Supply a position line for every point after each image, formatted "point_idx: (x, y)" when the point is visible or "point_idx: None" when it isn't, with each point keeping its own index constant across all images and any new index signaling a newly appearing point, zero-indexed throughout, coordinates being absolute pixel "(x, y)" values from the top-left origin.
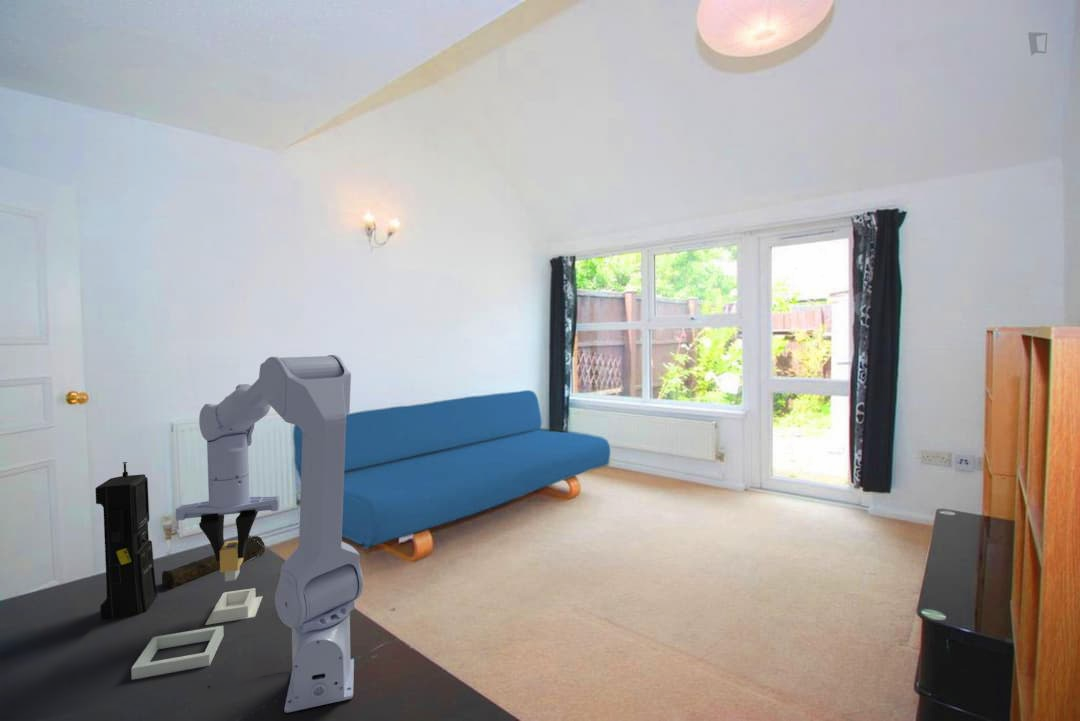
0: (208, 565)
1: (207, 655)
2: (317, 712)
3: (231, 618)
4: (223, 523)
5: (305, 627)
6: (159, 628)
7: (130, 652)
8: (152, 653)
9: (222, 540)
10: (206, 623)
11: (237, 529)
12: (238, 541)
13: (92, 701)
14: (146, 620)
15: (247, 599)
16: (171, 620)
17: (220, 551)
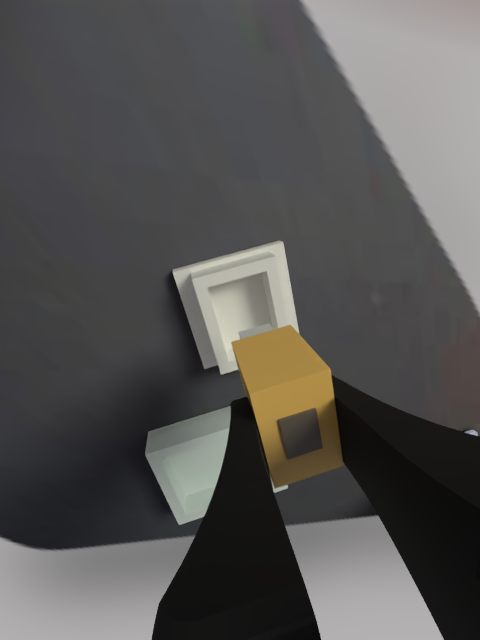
0: None
1: (284, 487)
2: None
3: None
4: (279, 511)
5: None
6: (88, 357)
7: (99, 433)
8: (170, 469)
9: (263, 457)
10: (204, 364)
11: (418, 582)
12: (367, 492)
13: (146, 526)
14: (17, 323)
15: (281, 322)
16: (90, 325)
17: (276, 483)
